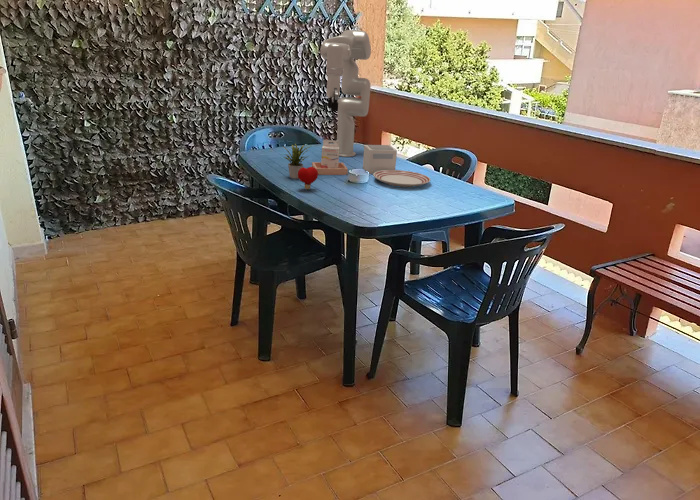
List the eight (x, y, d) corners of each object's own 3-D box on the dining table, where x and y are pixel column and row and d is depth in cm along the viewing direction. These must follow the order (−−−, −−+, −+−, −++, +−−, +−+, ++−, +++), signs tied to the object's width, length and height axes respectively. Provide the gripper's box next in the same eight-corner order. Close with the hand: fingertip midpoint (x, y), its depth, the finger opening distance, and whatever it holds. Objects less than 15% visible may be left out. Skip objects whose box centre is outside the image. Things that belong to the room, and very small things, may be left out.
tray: (311, 168, 272) (311, 162, 271) (342, 168, 275) (342, 162, 274) (315, 174, 261) (315, 168, 259) (347, 174, 264) (347, 168, 263)
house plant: (318, 178, 254) (320, 144, 248) (297, 183, 245) (297, 147, 238) (298, 172, 263) (299, 139, 257) (276, 176, 253) (277, 142, 247)
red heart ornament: (300, 192, 231) (301, 170, 227) (294, 188, 237) (295, 166, 233) (320, 191, 235) (321, 168, 232) (313, 186, 241) (314, 164, 237)
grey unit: (362, 167, 279) (364, 143, 275) (388, 167, 282) (390, 144, 278) (368, 173, 268) (369, 149, 263) (395, 174, 271) (397, 149, 266)
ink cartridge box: (320, 171, 265) (321, 141, 260) (321, 168, 270) (322, 139, 264) (337, 172, 265) (339, 142, 260) (338, 169, 270) (339, 140, 264)
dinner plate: (386, 172, 274) (386, 165, 273) (437, 181, 264) (438, 174, 262) (363, 183, 251) (363, 177, 250) (418, 194, 241) (419, 187, 239)
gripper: (323, 70, 257) (322, 106, 264) (329, 73, 241) (327, 112, 248) (339, 70, 259) (337, 107, 265) (345, 74, 243) (343, 112, 250)
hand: (332, 109), depth 257 cm, fingers open, 9 cm apart
